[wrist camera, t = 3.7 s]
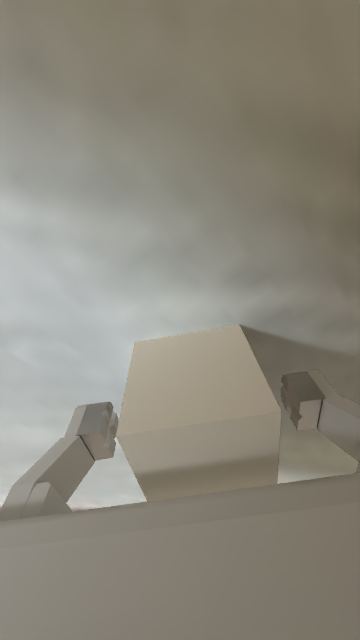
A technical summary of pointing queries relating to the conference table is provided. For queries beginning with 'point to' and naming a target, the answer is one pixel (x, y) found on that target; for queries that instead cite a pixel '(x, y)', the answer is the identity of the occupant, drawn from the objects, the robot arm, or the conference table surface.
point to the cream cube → (199, 416)
